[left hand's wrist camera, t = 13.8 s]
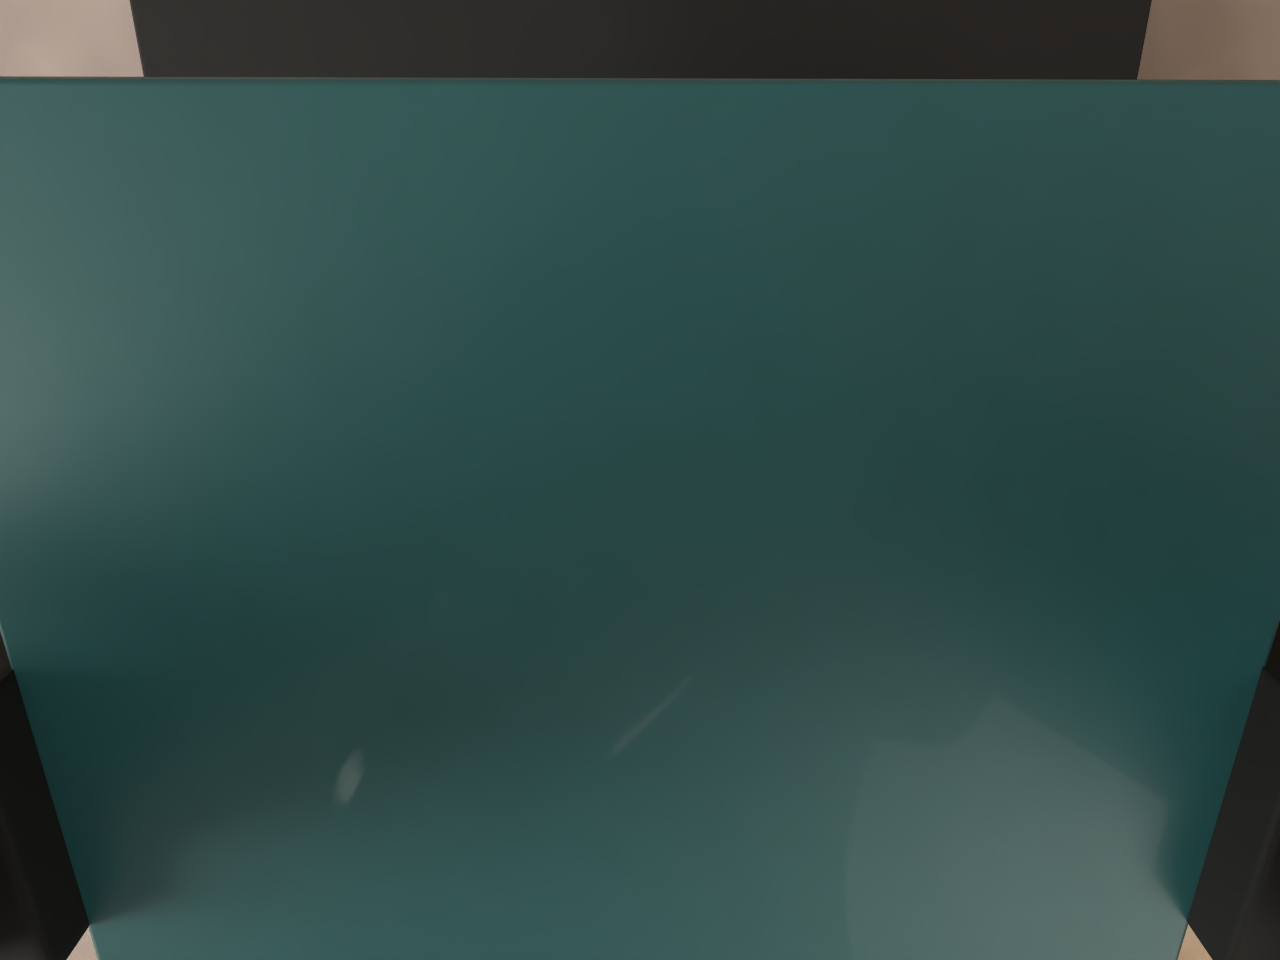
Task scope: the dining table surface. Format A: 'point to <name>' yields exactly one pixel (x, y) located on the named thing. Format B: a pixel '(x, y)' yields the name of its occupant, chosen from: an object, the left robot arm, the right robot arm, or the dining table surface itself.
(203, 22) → the rubber mat
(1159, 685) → the teal flat block
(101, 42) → the dining table surface
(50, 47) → the dining table surface
